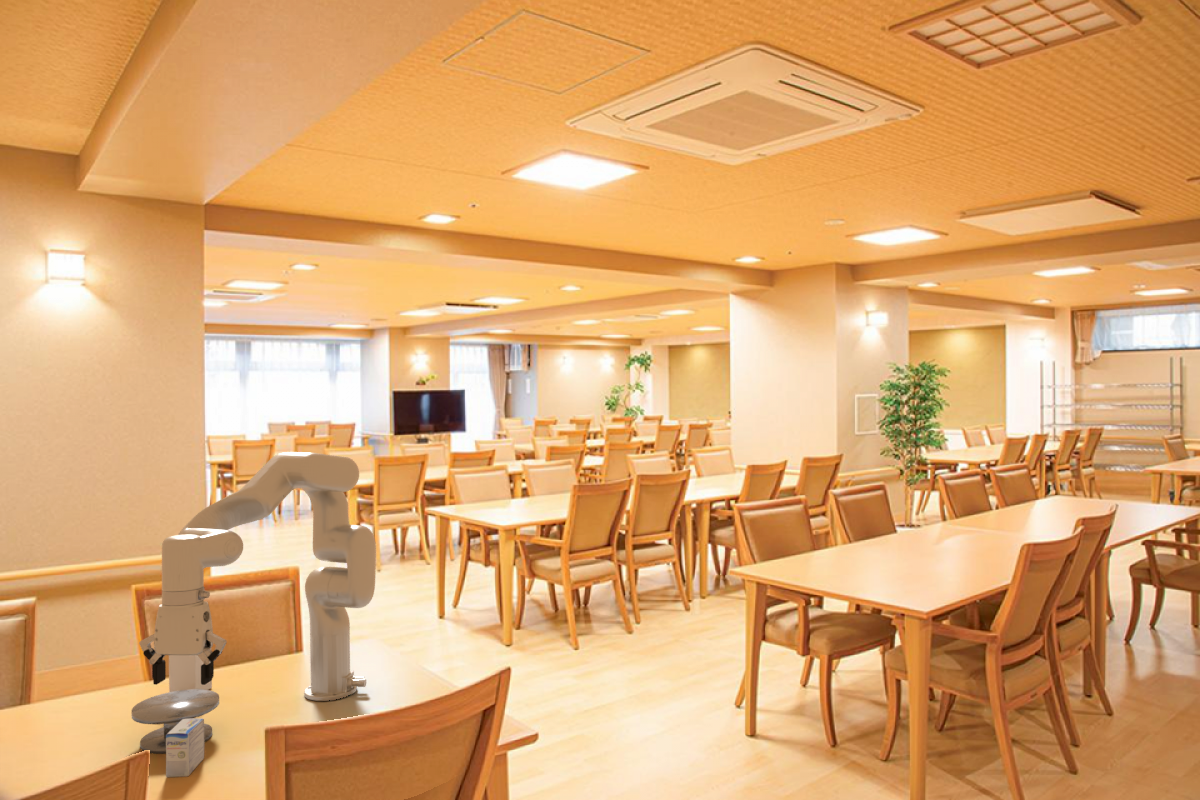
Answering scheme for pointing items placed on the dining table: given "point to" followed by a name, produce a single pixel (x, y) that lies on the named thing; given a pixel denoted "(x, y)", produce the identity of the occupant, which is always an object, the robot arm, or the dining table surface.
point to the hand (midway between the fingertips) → (183, 682)
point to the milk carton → (186, 673)
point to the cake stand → (172, 714)
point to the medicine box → (184, 747)
